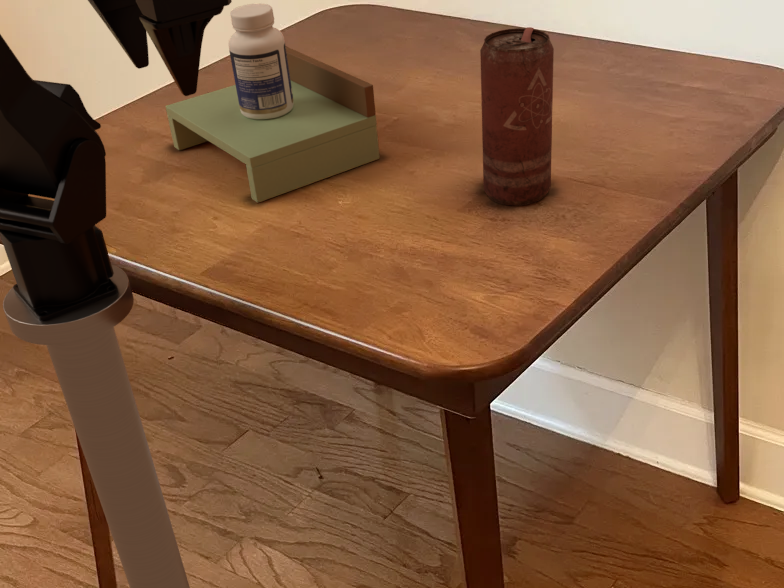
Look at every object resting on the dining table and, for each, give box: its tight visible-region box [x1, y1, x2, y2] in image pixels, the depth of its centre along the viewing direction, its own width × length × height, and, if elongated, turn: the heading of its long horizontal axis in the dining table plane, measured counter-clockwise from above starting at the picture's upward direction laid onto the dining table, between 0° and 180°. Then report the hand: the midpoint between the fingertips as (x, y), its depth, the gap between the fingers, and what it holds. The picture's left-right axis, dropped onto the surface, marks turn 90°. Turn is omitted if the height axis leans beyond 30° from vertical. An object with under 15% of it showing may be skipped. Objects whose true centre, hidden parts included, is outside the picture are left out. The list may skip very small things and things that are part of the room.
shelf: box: [165, 45, 381, 204], centre depth 103 cm, size 14×18×8 cm
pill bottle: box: [228, 3, 294, 119], centre depth 99 cm, size 5×5×10 cm
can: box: [479, 26, 555, 207], centre depth 90 cm, size 6×6×14 cm
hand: (165, 80), depth 86 cm, fingers open, 9 cm apart
